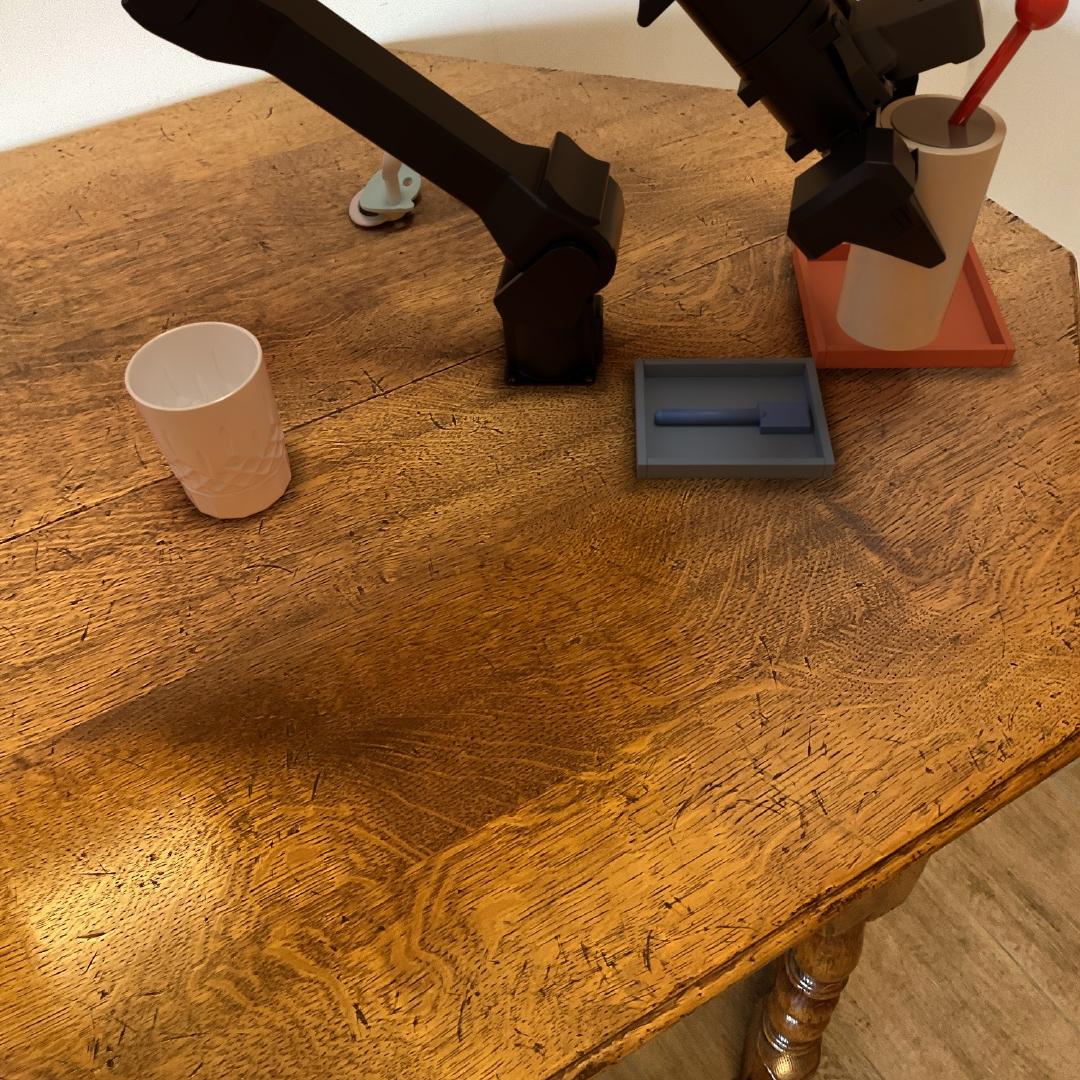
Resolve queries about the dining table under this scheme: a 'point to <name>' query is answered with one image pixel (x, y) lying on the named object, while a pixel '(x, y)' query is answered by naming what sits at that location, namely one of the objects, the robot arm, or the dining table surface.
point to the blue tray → (728, 444)
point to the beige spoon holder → (935, 200)
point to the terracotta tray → (963, 342)
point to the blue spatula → (746, 417)
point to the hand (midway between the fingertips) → (938, 229)
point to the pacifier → (386, 193)
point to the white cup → (213, 416)
